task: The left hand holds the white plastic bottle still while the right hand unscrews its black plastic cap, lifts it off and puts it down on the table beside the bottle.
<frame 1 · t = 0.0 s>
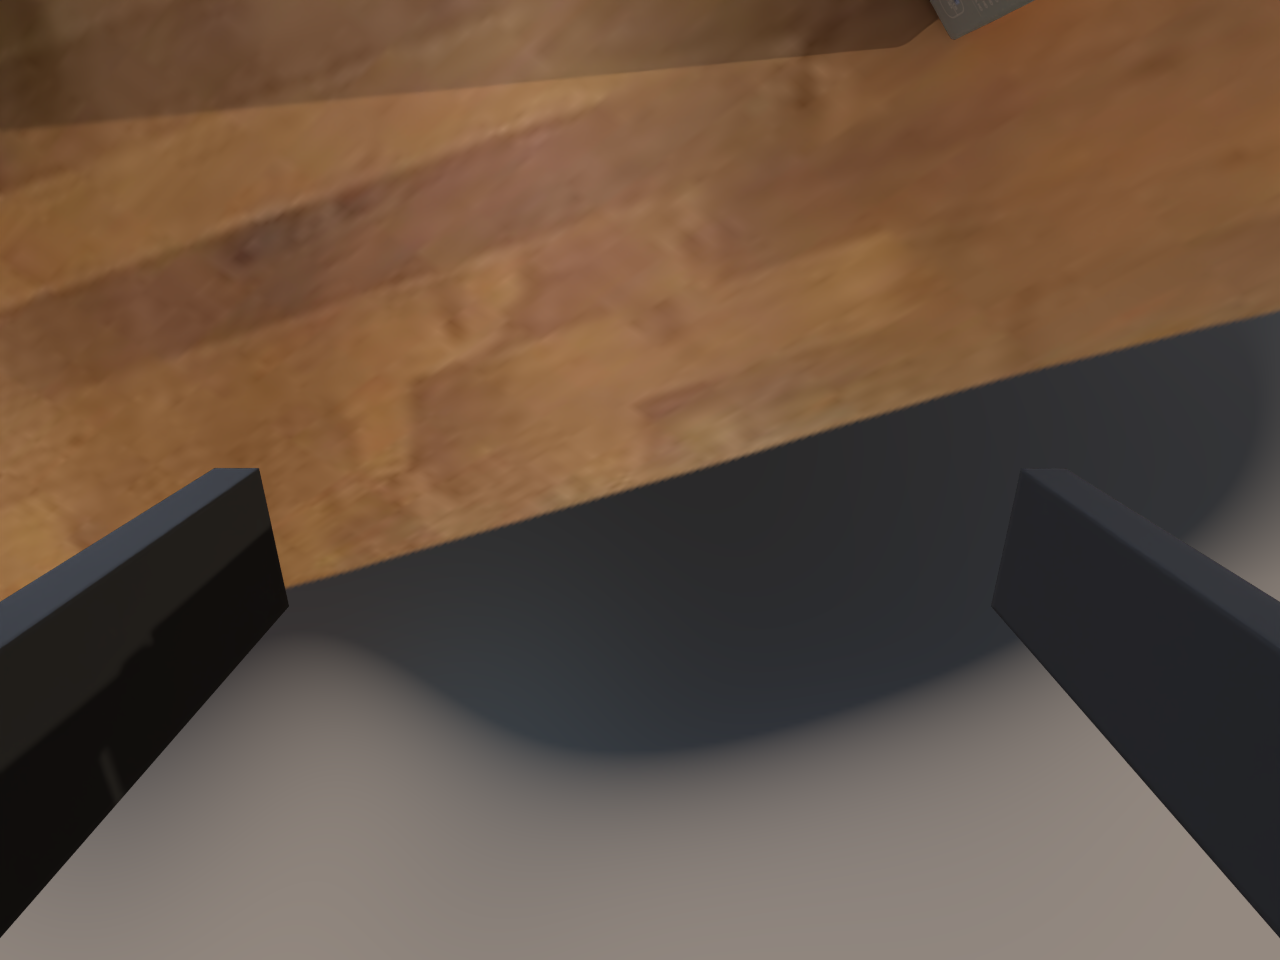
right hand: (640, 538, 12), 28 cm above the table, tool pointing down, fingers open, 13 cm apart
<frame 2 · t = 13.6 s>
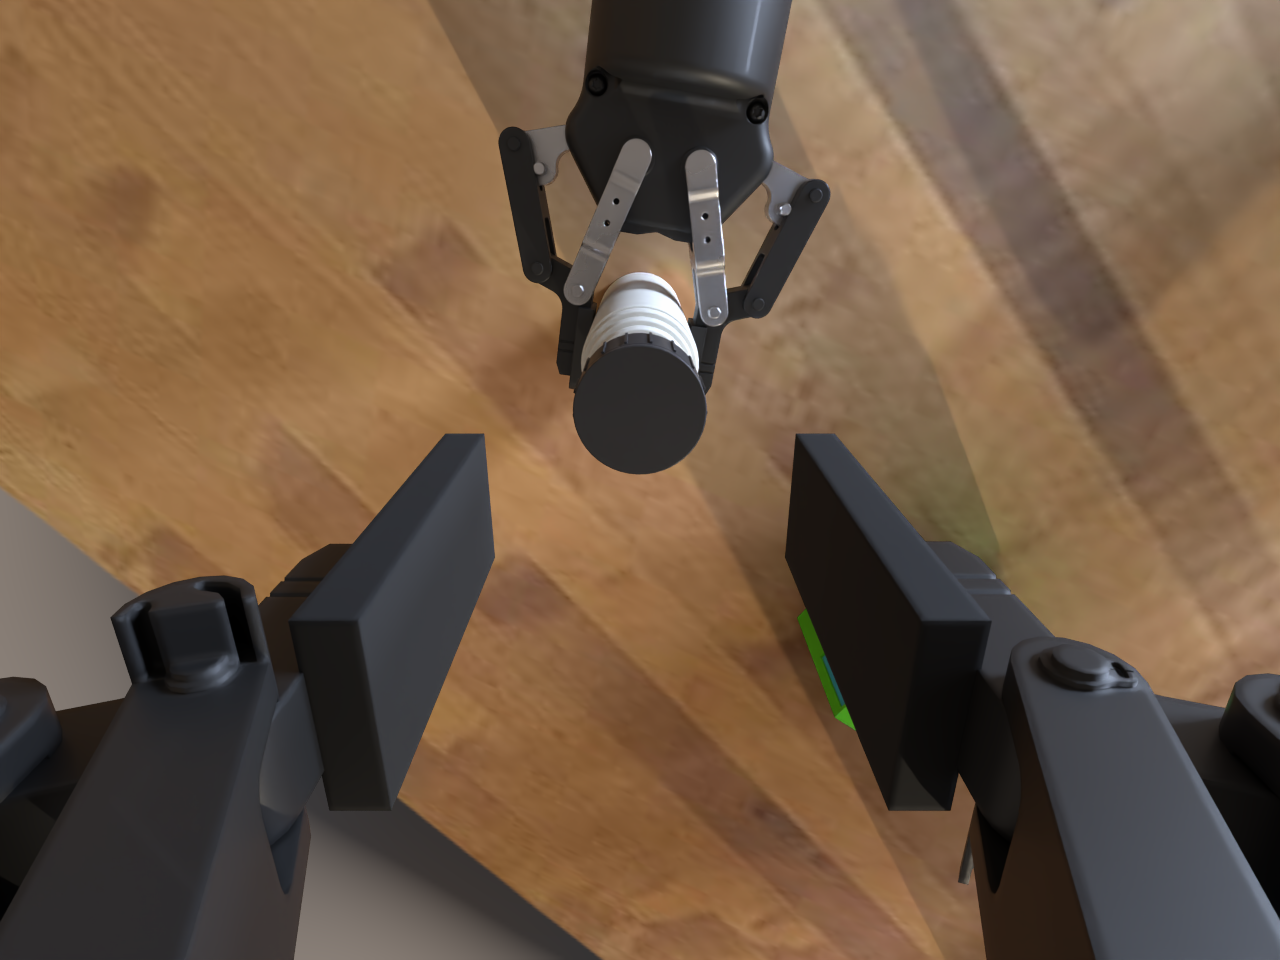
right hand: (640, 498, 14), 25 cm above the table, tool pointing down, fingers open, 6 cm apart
left hand: (631, 392, 32), fingers closed on bottle, 4 cm apart
cap: (639, 409, 20), point 18 cm above the table, screwed on, not yet turned
bottle: (640, 314, 37), on the table, touching left hand
toy car: (914, 615, 44), on the table
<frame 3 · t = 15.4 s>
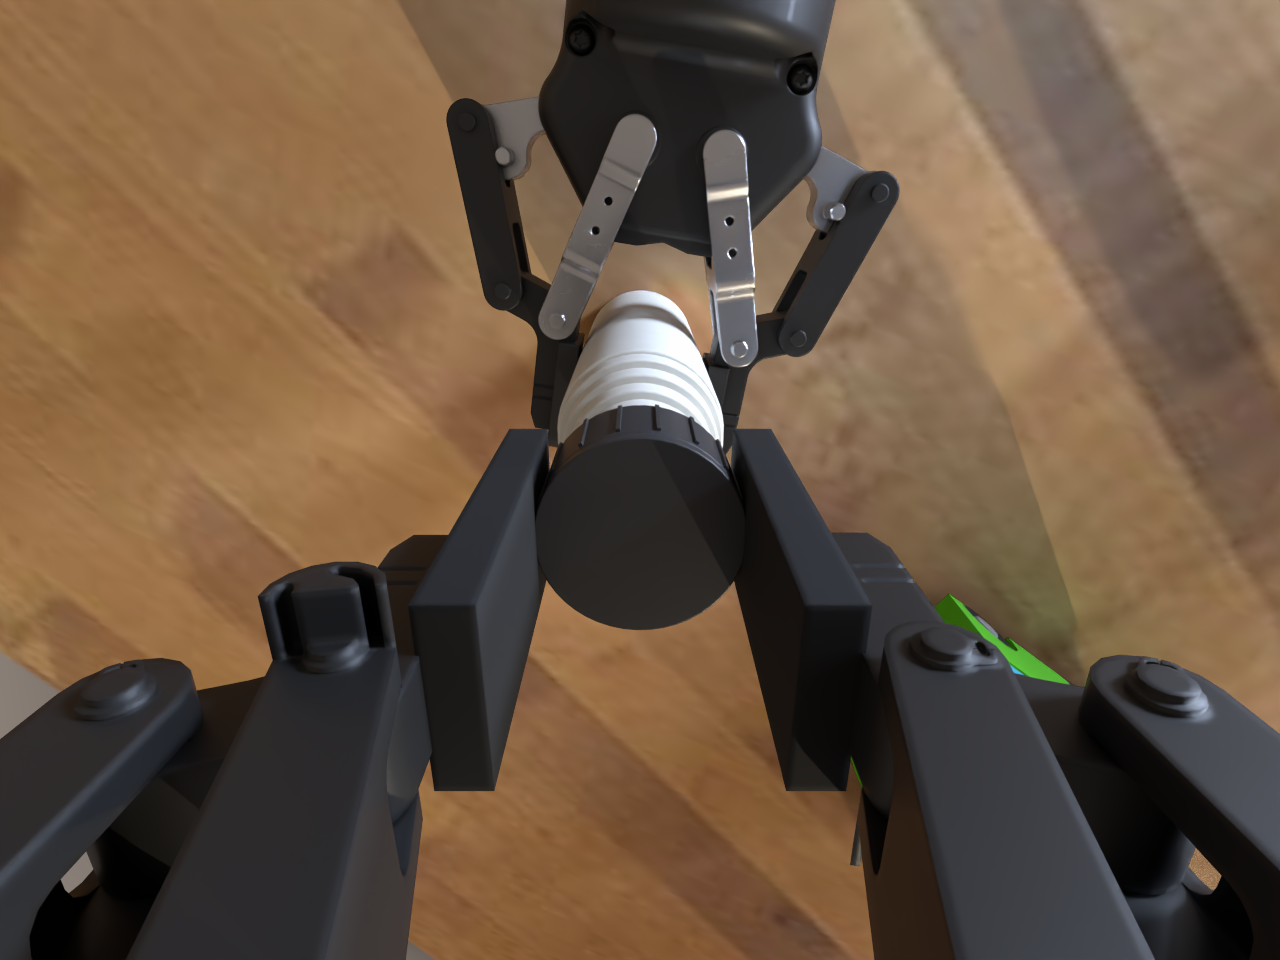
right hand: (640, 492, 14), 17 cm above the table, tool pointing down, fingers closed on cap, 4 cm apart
left hand: (629, 448, 25), fingers closed on bottle, 4 cm apart
cap: (640, 532, 13), point 18 cm above the table, screwed on, not yet turned, touching right hand
bottle: (640, 342, 30), on the table, touching left hand
toy car: (970, 699, 36), on the table
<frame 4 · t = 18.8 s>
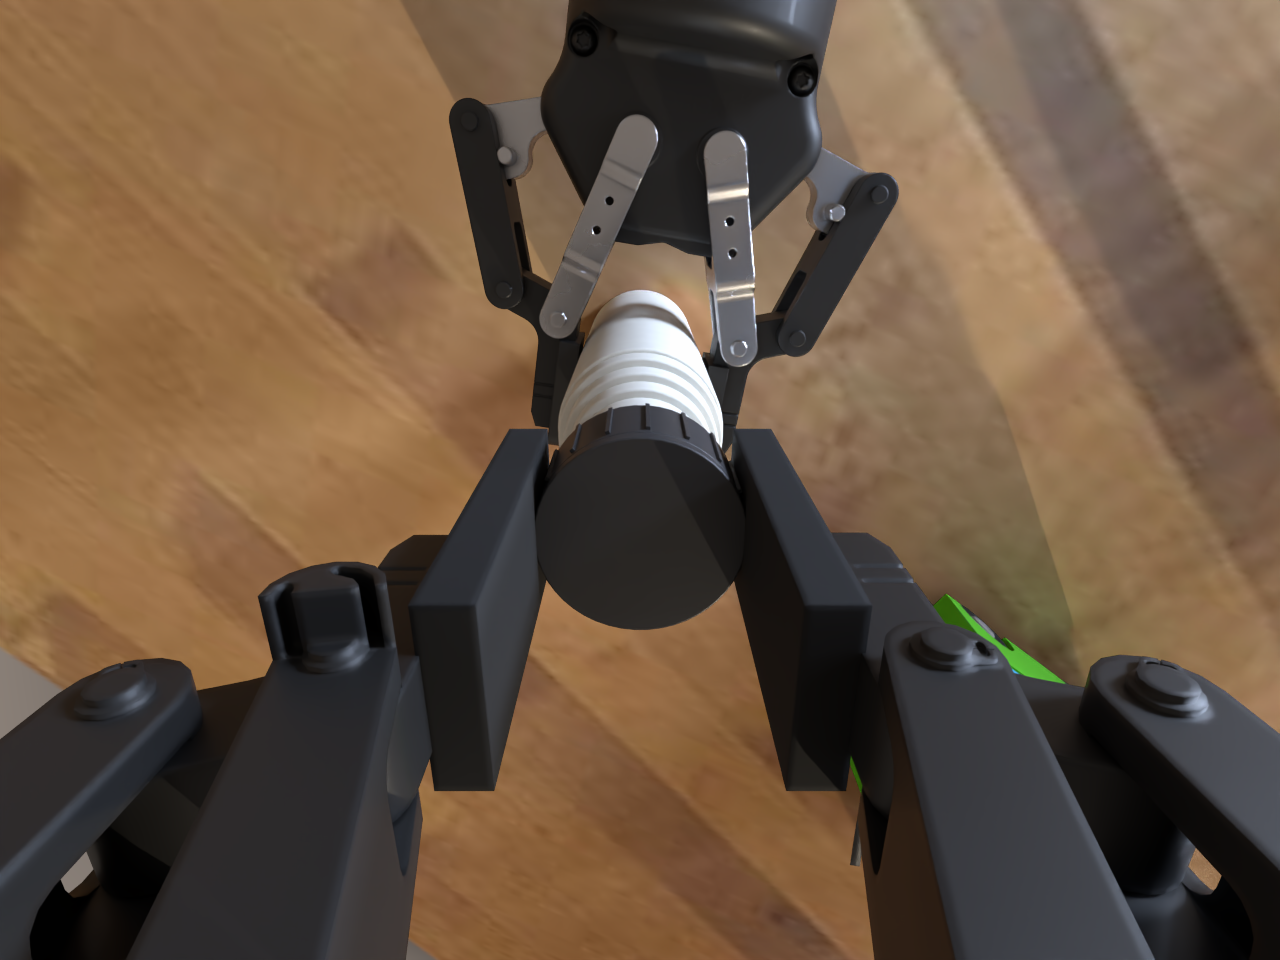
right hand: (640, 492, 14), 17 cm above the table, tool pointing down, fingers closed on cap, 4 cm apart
left hand: (629, 447, 25), fingers closed on bottle, 4 cm apart
cap: (640, 532, 13), point 18 cm above the table, turned 112° so far, risen 0.1 cm, still on its thread, touching right hand
bottle: (640, 341, 30), on the table, touching left hand
toy car: (967, 699, 37), on the table
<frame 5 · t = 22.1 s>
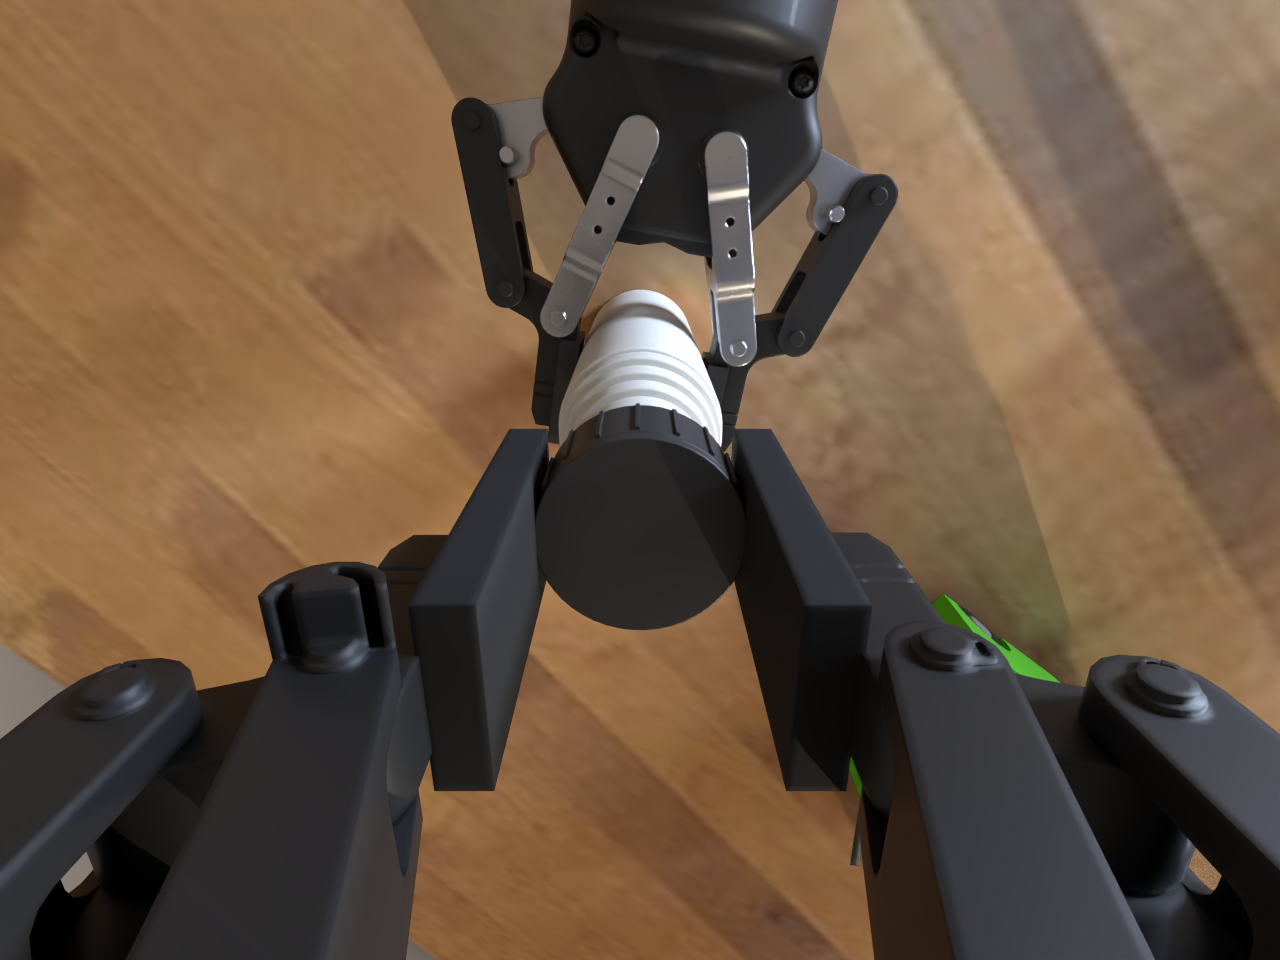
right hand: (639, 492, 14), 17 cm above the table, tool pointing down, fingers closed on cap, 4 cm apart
left hand: (629, 446, 25), fingers closed on bottle, 4 cm apart
cap: (640, 532, 13), point 19 cm above the table, turned 223° so far, risen 0.3 cm, still on its thread, touching right hand
bottle: (640, 341, 30), on the table, touching left hand
toy car: (963, 698, 37), on the table
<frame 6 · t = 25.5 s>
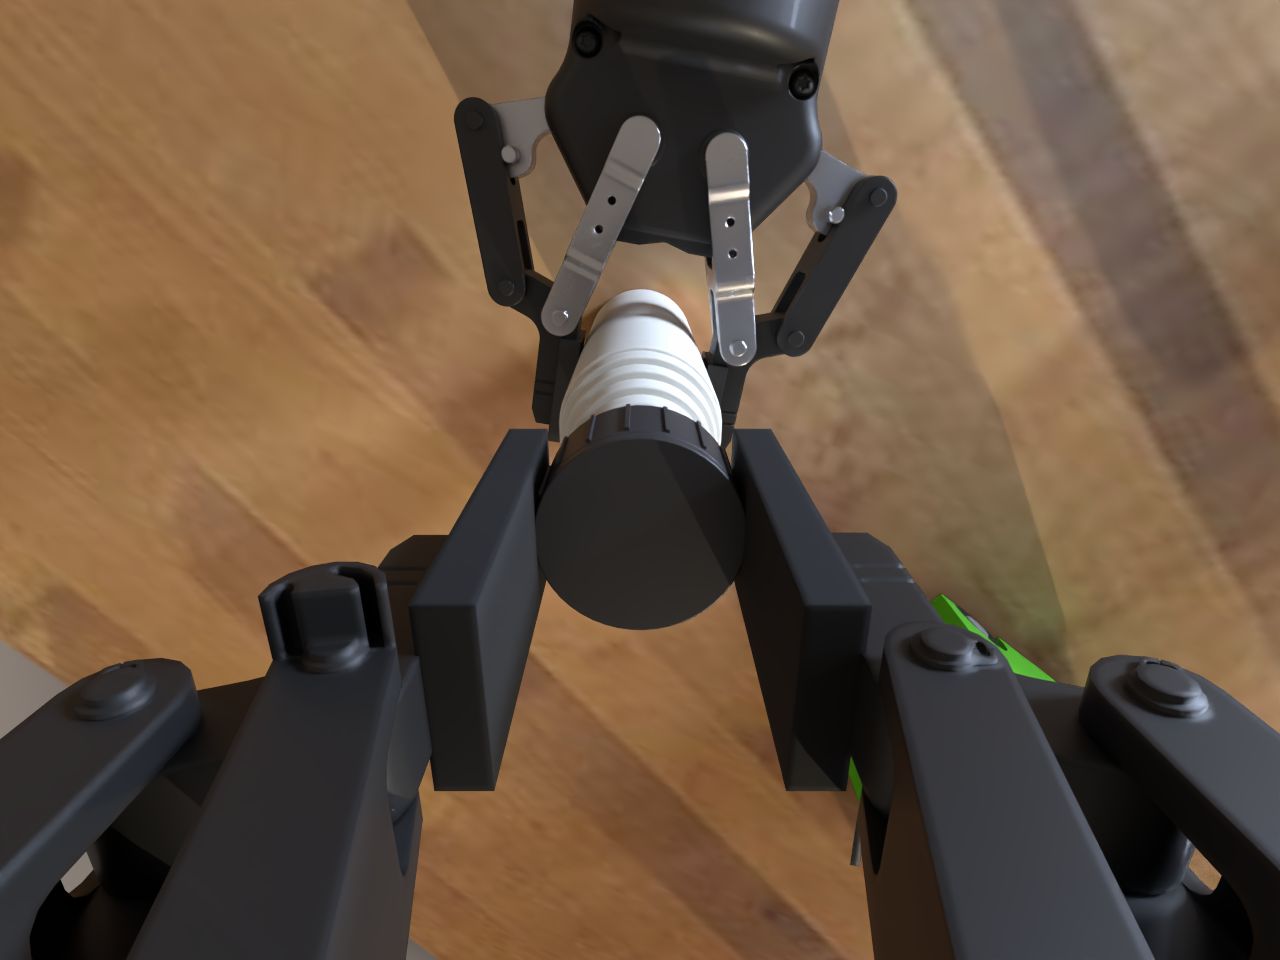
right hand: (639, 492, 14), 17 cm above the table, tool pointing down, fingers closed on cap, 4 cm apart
left hand: (628, 445, 25), fingers closed on bottle, 4 cm apart
cap: (640, 532, 13), point 19 cm above the table, turned 335° so far, risen 0.4 cm, still on its thread, touching right hand
bottle: (640, 340, 30), on the table, touching left hand
toy car: (960, 698, 37), on the table
when the right hand's fingers open (1 cm above the table, at t = 30.9 s): cap drops 1 cm, point 2 cm above the table.
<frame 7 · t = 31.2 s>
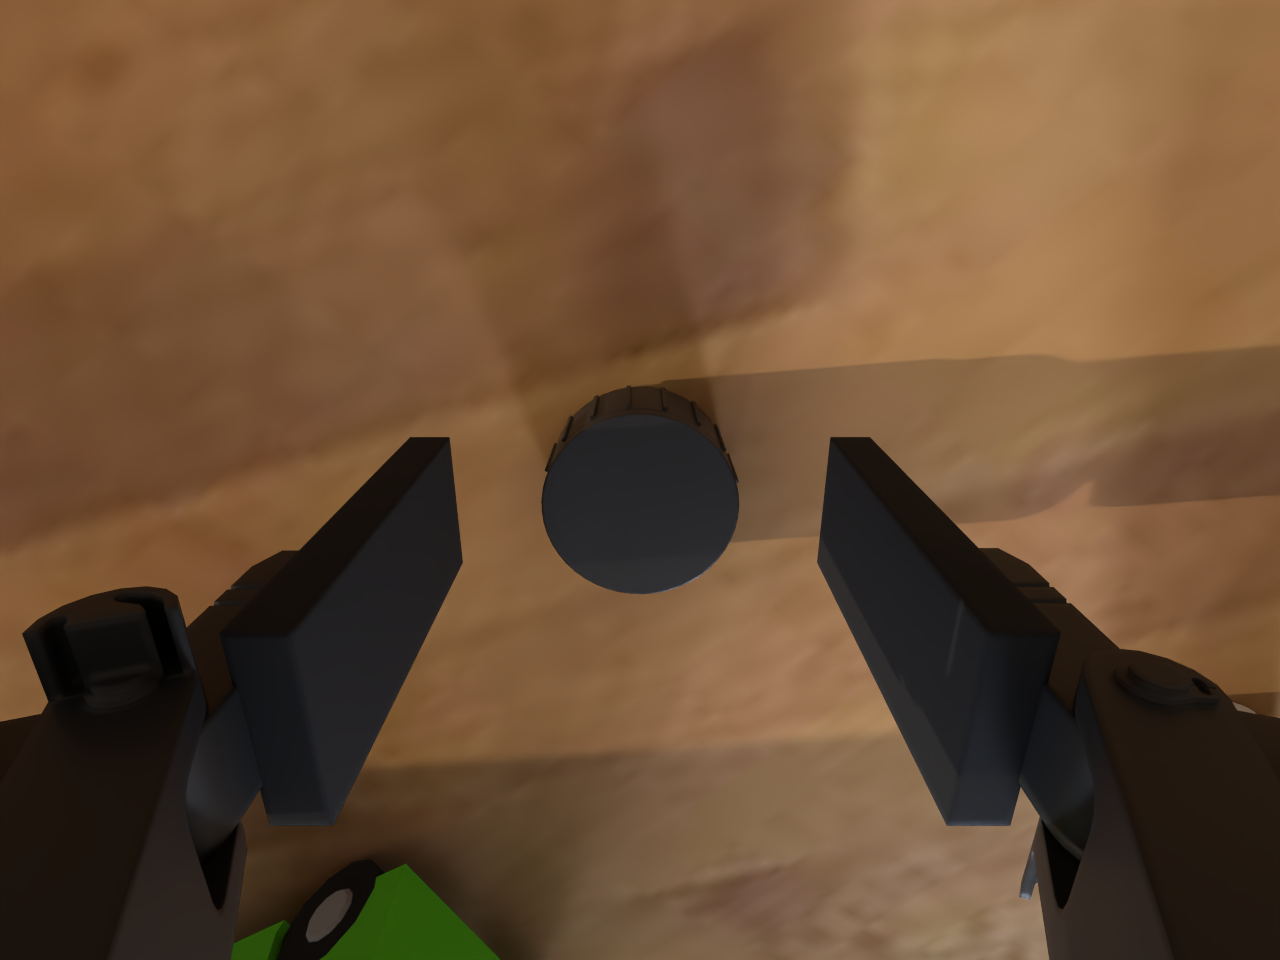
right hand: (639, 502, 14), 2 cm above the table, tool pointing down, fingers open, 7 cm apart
cap: (640, 502, 14), point 2 cm above the table, off its thread
when the left hand's fingers open (6 cm above the table, at t = 32.2 s): bottle stays where it is, on the table.
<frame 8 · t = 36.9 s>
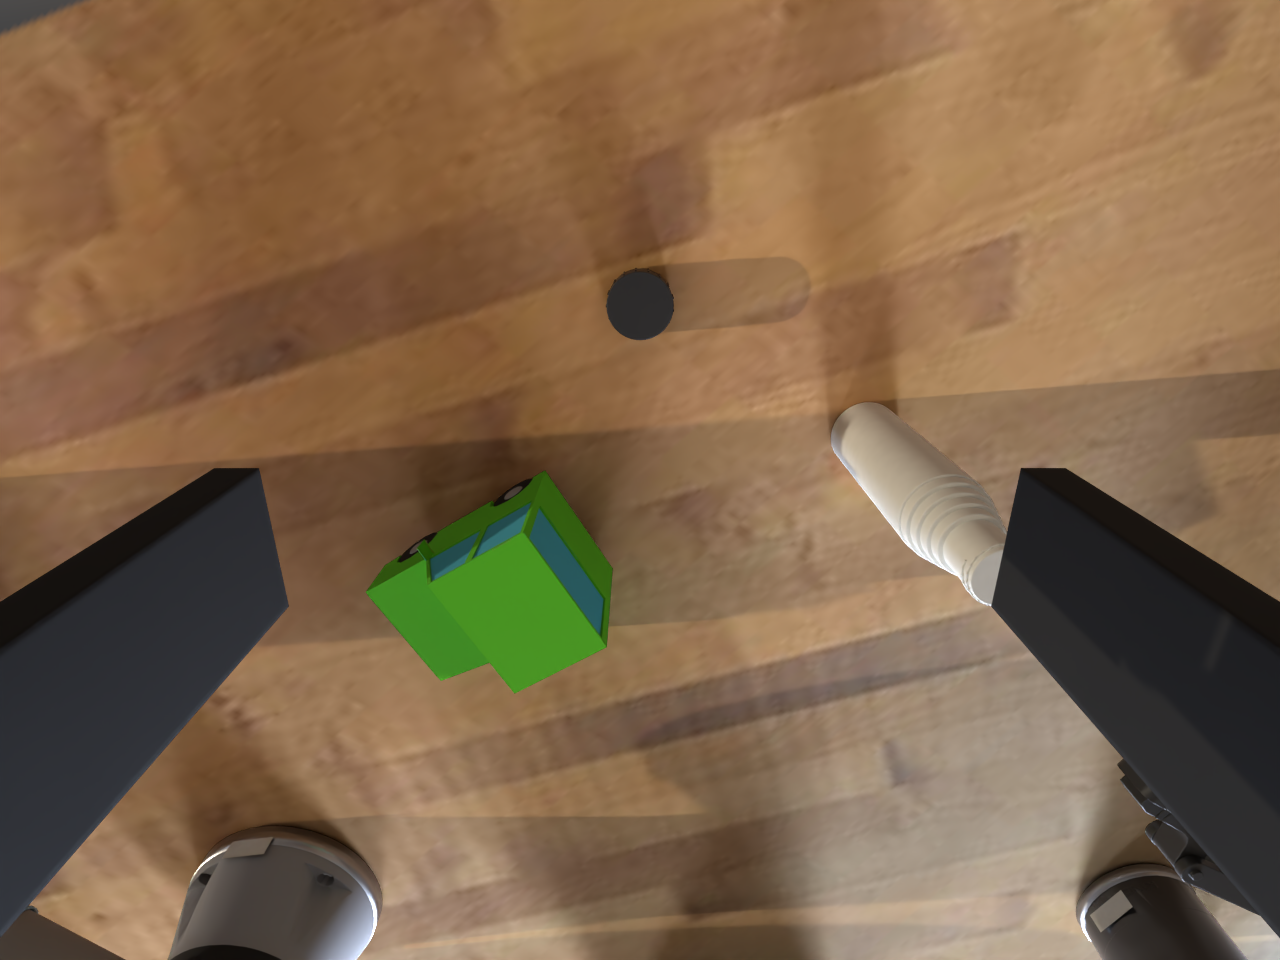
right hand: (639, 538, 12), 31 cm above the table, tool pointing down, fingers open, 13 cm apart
cap: (640, 305, 40), point 2 cm above the table, off its thread
bottle: (864, 434, 44), on the table
toy car: (499, 557, 48), on the table
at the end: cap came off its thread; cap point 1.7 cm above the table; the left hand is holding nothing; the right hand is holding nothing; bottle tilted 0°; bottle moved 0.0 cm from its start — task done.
